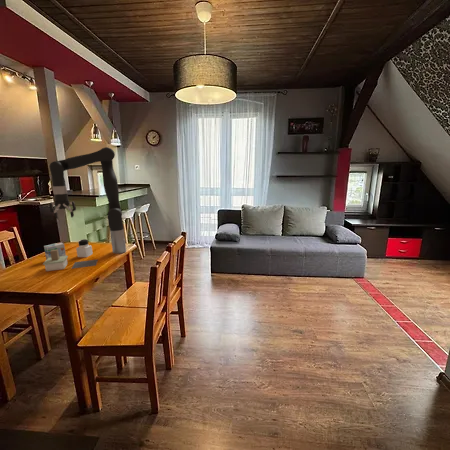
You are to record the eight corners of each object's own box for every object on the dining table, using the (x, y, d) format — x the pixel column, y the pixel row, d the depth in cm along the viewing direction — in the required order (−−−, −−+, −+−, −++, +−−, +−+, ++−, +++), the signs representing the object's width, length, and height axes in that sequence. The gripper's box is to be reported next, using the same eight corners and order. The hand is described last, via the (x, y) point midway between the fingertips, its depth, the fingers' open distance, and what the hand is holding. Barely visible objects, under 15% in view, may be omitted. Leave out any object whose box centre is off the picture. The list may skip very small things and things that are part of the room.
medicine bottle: (92, 254, 186) (90, 238, 183) (86, 257, 179) (84, 241, 176) (83, 254, 187) (81, 238, 184) (77, 257, 180) (74, 241, 177)
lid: (68, 256, 167) (66, 246, 165) (63, 262, 157) (61, 251, 155) (48, 258, 163) (46, 248, 162) (42, 264, 153) (40, 254, 152)
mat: (98, 259, 174) (98, 259, 174) (95, 266, 163) (95, 265, 163) (75, 262, 169) (75, 262, 169) (71, 269, 158) (71, 268, 158)
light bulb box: (49, 262, 171) (46, 247, 168) (46, 260, 175) (43, 245, 172) (66, 258, 179) (64, 243, 177) (62, 256, 183) (60, 242, 181)
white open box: (67, 264, 167) (66, 257, 166) (64, 269, 158) (62, 262, 157) (50, 266, 164) (49, 259, 163) (46, 271, 155) (44, 264, 154)
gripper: (74, 192, 169) (78, 216, 172) (49, 193, 164) (53, 217, 168) (71, 193, 162) (75, 218, 165) (45, 194, 157) (50, 219, 161)
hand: (64, 217), depth 166 cm, fingers open, 8 cm apart
